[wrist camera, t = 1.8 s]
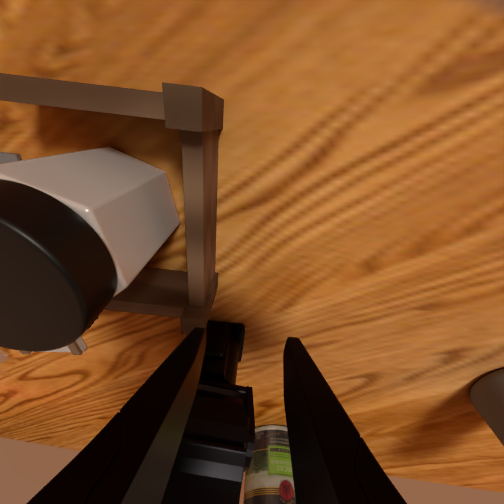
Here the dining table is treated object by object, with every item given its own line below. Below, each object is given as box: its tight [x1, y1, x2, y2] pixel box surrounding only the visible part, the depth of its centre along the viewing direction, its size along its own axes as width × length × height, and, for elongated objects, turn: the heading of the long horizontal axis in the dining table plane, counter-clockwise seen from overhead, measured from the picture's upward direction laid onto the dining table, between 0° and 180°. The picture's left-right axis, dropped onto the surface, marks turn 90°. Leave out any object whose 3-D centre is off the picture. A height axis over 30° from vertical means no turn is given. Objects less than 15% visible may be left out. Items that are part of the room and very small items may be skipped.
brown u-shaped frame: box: [0, 73, 224, 334], centre depth 17 cm, size 17×13×6 cm
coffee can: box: [243, 425, 296, 504], centre depth 35 cm, size 10×10×14 cm
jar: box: [0, 147, 180, 352], centre depth 15 cm, size 9×8×12 cm
